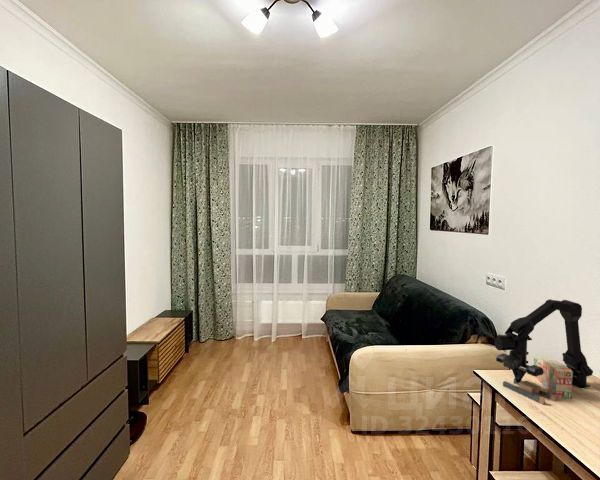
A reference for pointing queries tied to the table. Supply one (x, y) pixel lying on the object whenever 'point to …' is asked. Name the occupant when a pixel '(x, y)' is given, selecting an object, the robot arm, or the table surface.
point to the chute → (531, 395)
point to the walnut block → (529, 387)
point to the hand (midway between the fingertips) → (518, 382)
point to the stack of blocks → (555, 376)
